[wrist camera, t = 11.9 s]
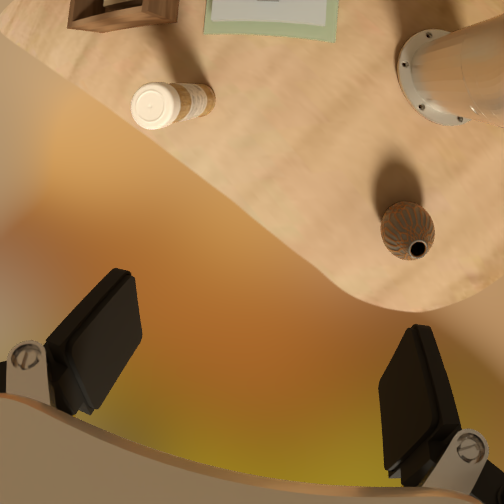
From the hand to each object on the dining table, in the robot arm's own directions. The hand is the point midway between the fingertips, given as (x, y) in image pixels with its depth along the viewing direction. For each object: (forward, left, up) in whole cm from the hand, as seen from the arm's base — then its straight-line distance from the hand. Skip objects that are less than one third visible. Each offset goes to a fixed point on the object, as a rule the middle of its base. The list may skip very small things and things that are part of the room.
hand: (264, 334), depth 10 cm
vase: (-14, +6, -33) cm, 36 cm away
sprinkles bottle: (+14, -6, -33) cm, 36 cm away
